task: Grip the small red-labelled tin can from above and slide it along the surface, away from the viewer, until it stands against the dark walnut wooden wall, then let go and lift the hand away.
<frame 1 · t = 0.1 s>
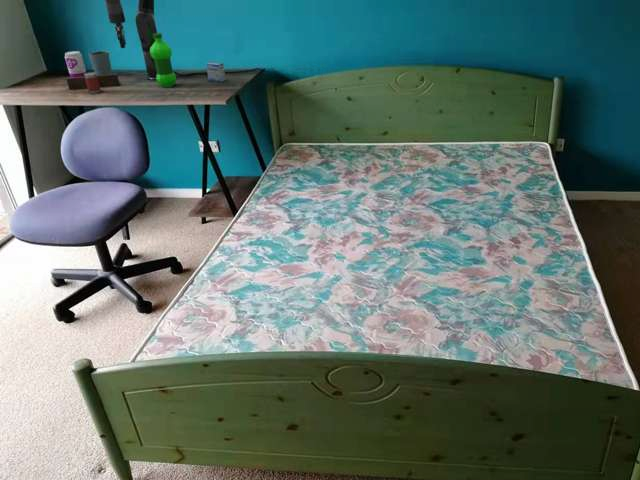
hand: (123, 46, 307), 17 cm above the table, tool pointing down, fingers open, 8 cm apart
tin can: (95, 92, 298), on the table
wooden wall: (94, 87, 307), on the table
supplement can: (80, 82, 315), on the table
plastic bottle: (167, 86, 306), on the table
grey cup: (104, 75, 327), on the table
medicine box: (217, 80, 312), on the table
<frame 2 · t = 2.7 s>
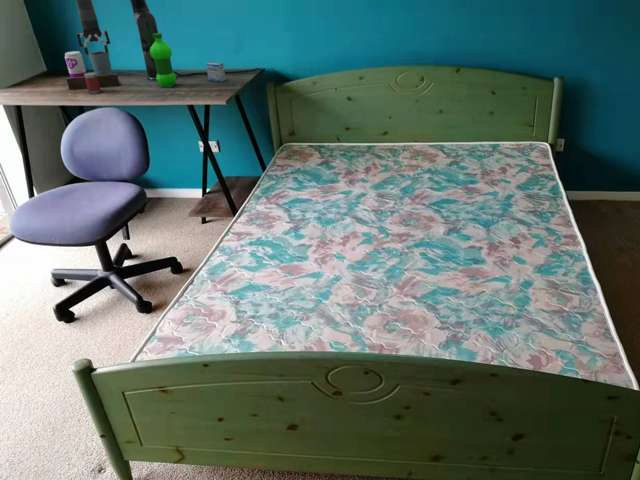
hand: (97, 54, 295), 17 cm above the table, tool pointing down, fingers open, 8 cm apart
nothing on the table moved.
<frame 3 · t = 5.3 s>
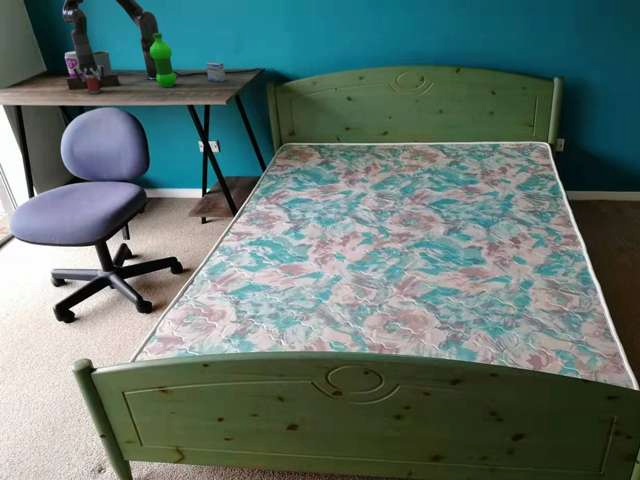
hand: (94, 88, 297), 2 cm above the table, tool pointing down, fingers closed on tin can, 5 cm apart
tin can: (95, 92, 298), on the table, touching gripper
everything else where it was.
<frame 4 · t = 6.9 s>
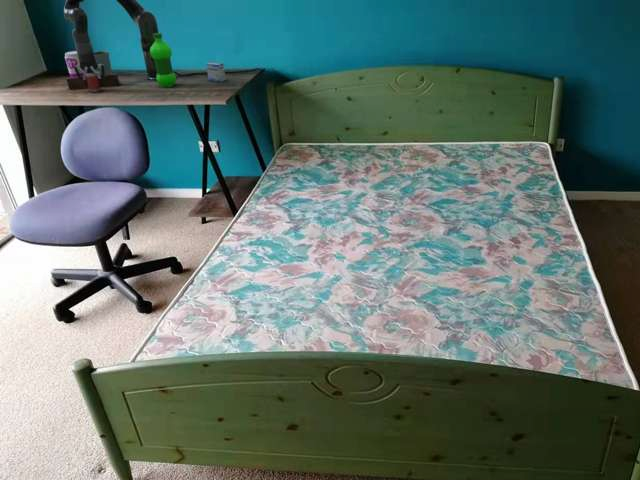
hand: (94, 86, 299), 2 cm above the table, tool pointing down, fingers closed on tin can, 5 cm apart
tin can: (95, 90, 300), on the table, touching gripper
everything else where it was.
when the fingers open (2 cm above the table, at t = 8.7 s): tin can stays where it is, on the table.
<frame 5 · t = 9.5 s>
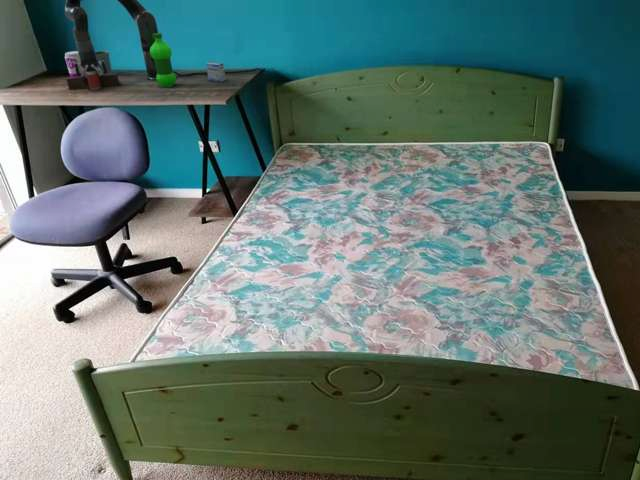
hand: (94, 83, 303), 3 cm above the table, tool pointing down, fingers open, 8 cm apart
tin can: (96, 88, 304), on the table
everything else where it was.
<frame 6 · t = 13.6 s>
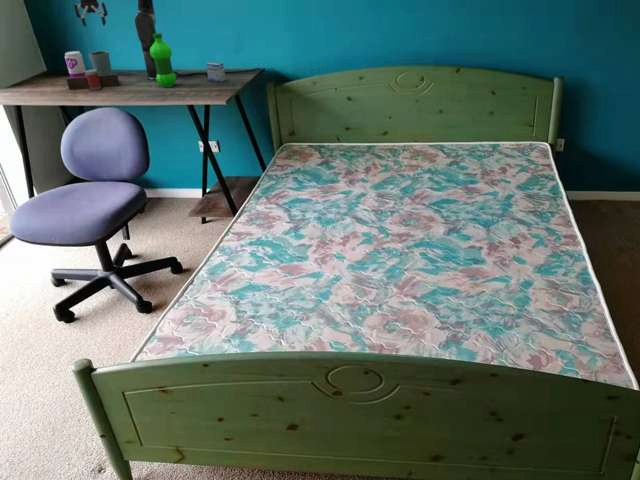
hand: (95, 25, 297), 28 cm above the table, tool pointing down, fingers open, 8 cm apart
nothing on the table moved.
at the end: tin can 0.4 cm from the target spot, on the table; tin can tilted 0°; the gripper is holding nothing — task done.
